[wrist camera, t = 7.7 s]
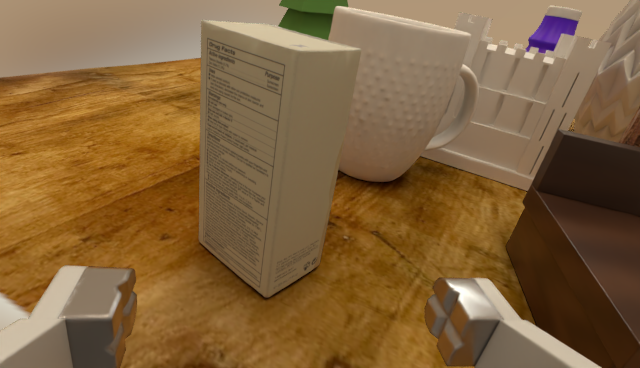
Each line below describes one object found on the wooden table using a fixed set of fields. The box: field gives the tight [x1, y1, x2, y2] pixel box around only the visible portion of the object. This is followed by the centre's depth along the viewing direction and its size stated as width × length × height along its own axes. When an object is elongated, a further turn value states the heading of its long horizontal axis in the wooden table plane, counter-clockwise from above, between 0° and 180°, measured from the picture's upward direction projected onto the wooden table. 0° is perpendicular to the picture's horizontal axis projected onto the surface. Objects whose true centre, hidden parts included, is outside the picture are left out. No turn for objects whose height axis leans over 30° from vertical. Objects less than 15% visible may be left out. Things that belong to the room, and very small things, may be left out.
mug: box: [328, 6, 479, 182], centre depth 34 cm, size 15×11×13 cm
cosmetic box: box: [199, 20, 361, 298], centre depth 19 cm, size 6×4×12 cm
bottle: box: [526, 6, 582, 54], centre depth 54 cm, size 7×6×17 cm
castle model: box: [420, 12, 612, 191], centre depth 42 cm, size 13×15×14 cm
